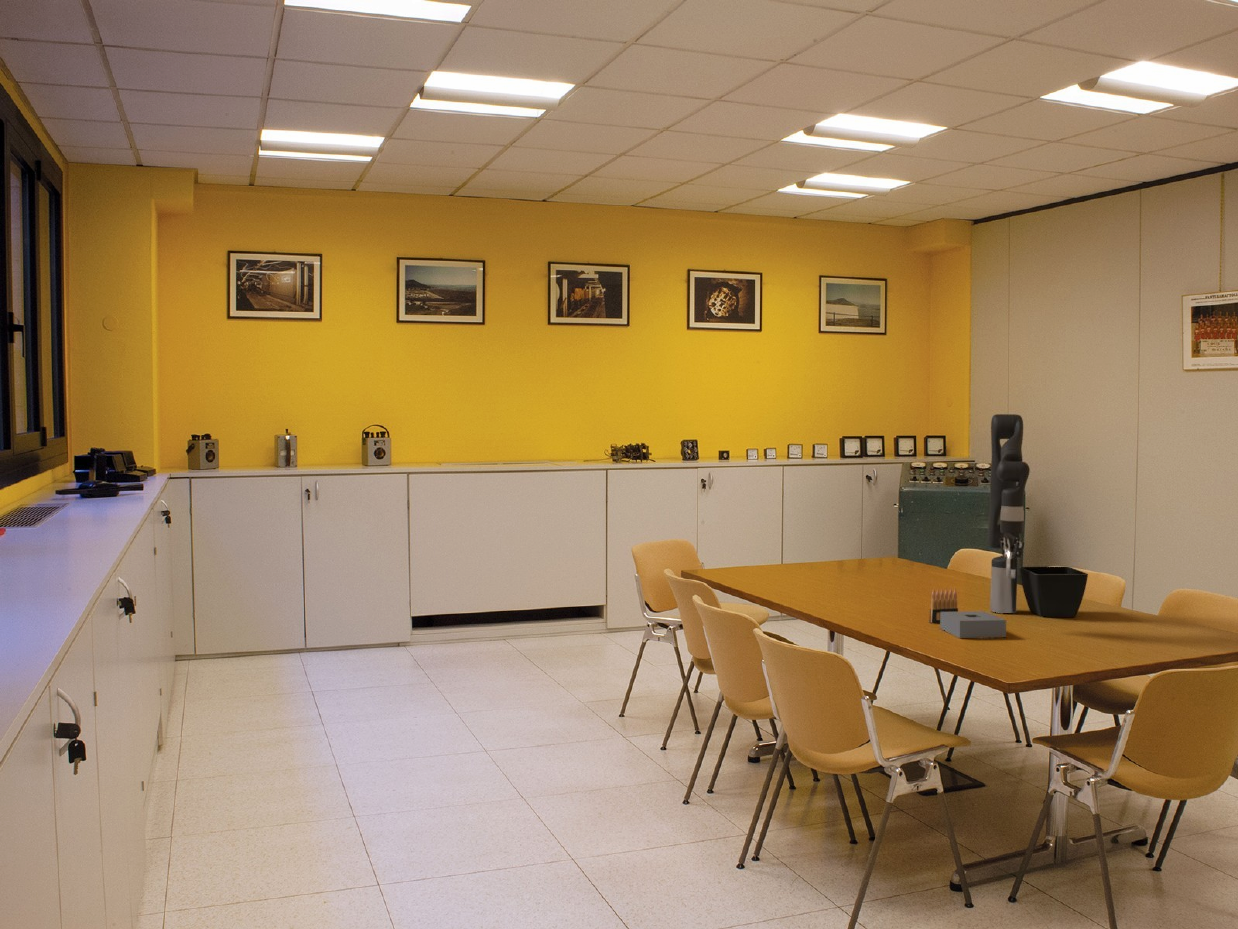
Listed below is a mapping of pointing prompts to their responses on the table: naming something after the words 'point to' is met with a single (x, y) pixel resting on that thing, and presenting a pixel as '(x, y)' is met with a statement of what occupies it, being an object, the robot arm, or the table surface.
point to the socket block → (973, 624)
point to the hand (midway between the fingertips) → (1011, 568)
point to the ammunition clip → (942, 604)
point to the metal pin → (1009, 572)
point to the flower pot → (1053, 590)
